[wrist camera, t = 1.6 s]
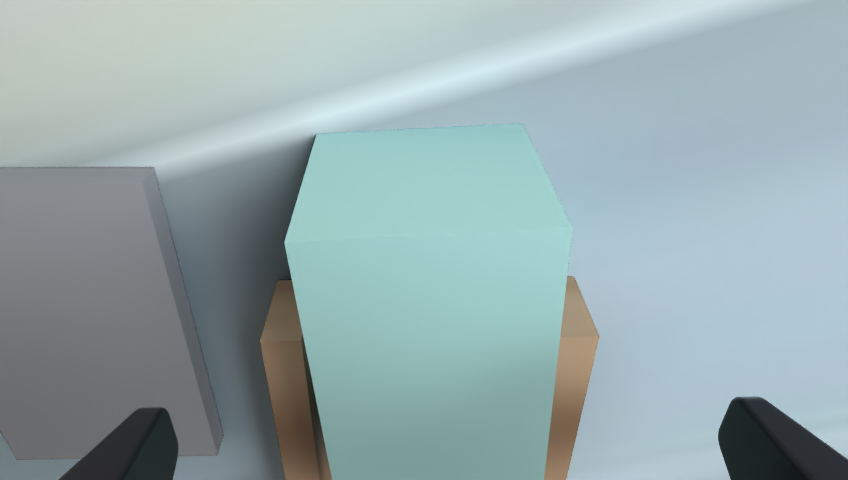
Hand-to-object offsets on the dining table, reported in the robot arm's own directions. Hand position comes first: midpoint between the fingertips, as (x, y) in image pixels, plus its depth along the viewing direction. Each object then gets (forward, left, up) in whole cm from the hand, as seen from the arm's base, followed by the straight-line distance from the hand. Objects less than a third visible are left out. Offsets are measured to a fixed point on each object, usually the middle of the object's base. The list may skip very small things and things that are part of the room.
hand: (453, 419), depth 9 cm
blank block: (-2, 0, -7) cm, 8 cm away
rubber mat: (-4, +10, -7) cm, 13 cm away
